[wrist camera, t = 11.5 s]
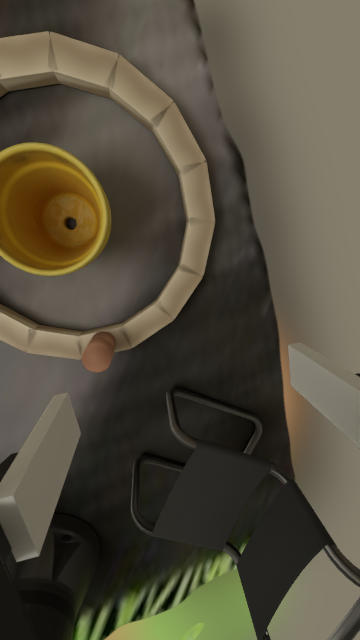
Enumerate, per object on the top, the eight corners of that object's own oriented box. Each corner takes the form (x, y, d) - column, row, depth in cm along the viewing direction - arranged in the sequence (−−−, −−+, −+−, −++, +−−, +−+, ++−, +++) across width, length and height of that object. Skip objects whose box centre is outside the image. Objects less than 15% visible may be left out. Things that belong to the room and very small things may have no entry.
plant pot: (106, 279, 33) (91, 291, 24) (18, 252, 31) (-37, 254, 22) (128, 193, 31) (122, 170, 22) (35, 159, 29) (-17, 117, 20)
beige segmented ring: (226, 321, 36) (244, 338, 30) (-17, 376, 34) (-56, 407, 28) (181, 28, 28) (193, -42, 21) (-149, 76, 25) (-254, 14, 19)
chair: (232, 482, 44) (312, 697, 23) (132, 455, 40) (118, 681, 19) (269, 417, 42) (396, 589, 21) (166, 381, 38) (193, 548, 17)
